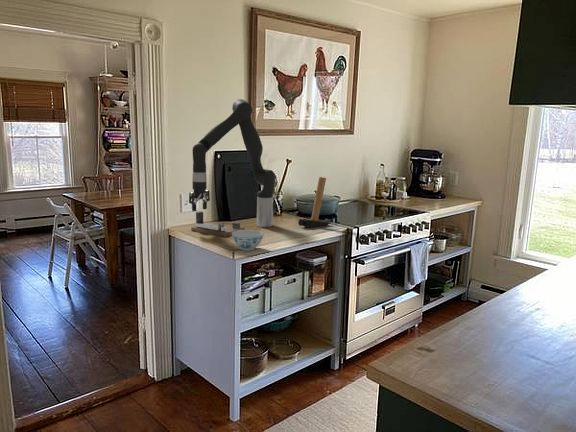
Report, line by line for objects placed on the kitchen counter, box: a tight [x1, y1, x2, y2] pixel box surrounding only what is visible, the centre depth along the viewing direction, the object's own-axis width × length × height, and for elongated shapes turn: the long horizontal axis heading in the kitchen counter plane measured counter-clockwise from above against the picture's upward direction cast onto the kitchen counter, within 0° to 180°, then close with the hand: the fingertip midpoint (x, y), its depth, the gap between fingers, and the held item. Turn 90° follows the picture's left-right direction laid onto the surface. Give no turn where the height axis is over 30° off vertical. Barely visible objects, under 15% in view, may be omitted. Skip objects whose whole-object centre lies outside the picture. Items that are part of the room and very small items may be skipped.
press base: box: [190, 221, 246, 238], centre depth 252 cm, size 17×24×5 cm
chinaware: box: [231, 229, 264, 252], centre depth 216 cm, size 15×15×8 cm
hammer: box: [298, 176, 332, 229], centre depth 268 cm, size 20×5×30 cm, turn 122°
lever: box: [195, 211, 226, 231], centre depth 246 cm, size 19×4×8 cm, turn 59°
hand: (199, 210), depth 248 cm, fingers open, 8 cm apart
